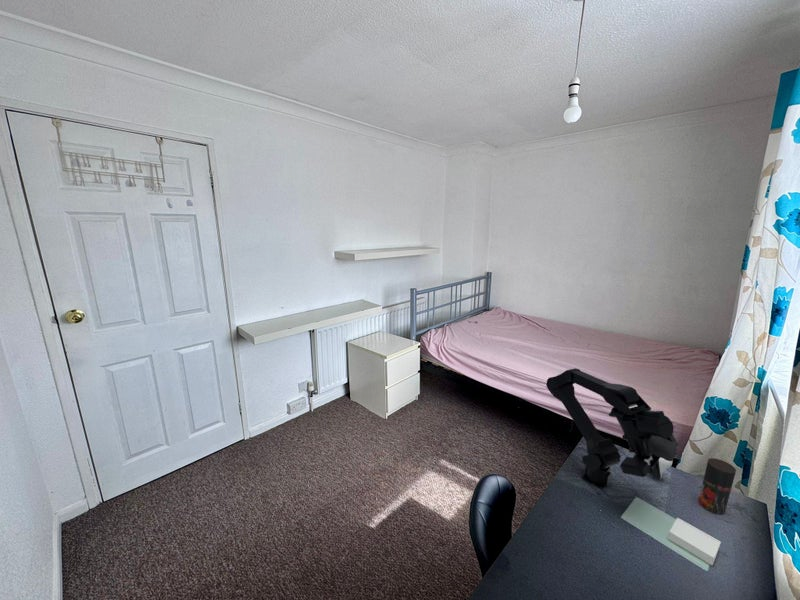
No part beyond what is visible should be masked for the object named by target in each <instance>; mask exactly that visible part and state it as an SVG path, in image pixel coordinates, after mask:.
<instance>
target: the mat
mask: <svg viewBox="0 0 800 600" xmlns="http://www.w3.org/2000/svg"><path fill="white" fill-rule="evenodd" d="M620 519H622V520H624V521H625V522H627V523H629V524H630V525H632V526H634V527H635V528H637V529H638V530H640V531H641V532H643V533H645V534H646V535H647V536H649V537H651V538H652V539H654V540H656V541H657V542H659V543H661V544H662V545H664V546H666V547H667V548H669V549H670V550H672V551H673V552H675V553H677V554H678V555H680V556H681V557H683V558H685V559H686V560H688V561H690V563H691V562H692V564H694V565H696V566H698V567H700V568H701V569H703V571H706V572H708V571H709V569H710V566H711V565H710V564H708V563H706V562H705V561H703V560H701V559H700V558H698V557H697V556H695V555H693V554H692V553H690V552H688V551H687V550H685V549H683V548H682V547H680V546H678V545H677V544H675V543H674V542H672V541H670V540H669V539H668V535H669V531H670V529H671V528H672V526H673V524H674V522H675V521H676V519H677V518H674V517H673V516H671V515H669V514H668V513H666V512H664V511H662V510H660V509H659V508H656V507H655V506H654V505H651V504H650V503H648V502H646V501H644V500H643V499H641V498H639V497H637V496H636V497H635V498H634V499H633V500H632V502H631V503H630V505H629V506H628V507H627V508H626V509H625V511H624V512H623V514H622V515H621V516H620Z"/></svg>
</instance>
